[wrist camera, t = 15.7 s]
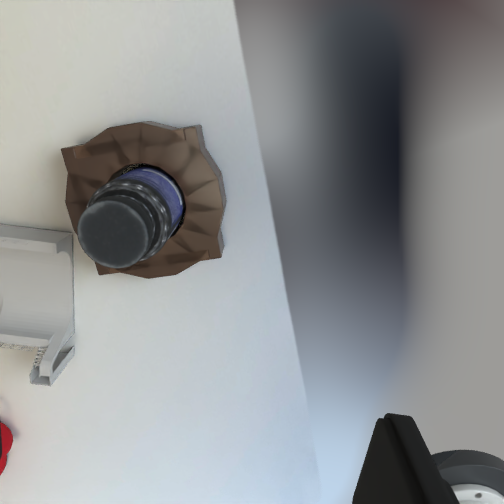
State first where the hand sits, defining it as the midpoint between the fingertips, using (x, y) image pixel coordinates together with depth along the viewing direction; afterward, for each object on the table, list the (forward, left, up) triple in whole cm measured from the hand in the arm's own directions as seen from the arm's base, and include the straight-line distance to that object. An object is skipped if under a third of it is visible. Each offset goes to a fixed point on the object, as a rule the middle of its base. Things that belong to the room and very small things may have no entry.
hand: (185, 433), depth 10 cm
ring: (+6, +5, -28) cm, 29 cm away
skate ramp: (+13, +22, -28) cm, 38 cm away
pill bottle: (+6, +5, -28) cm, 30 cm away
